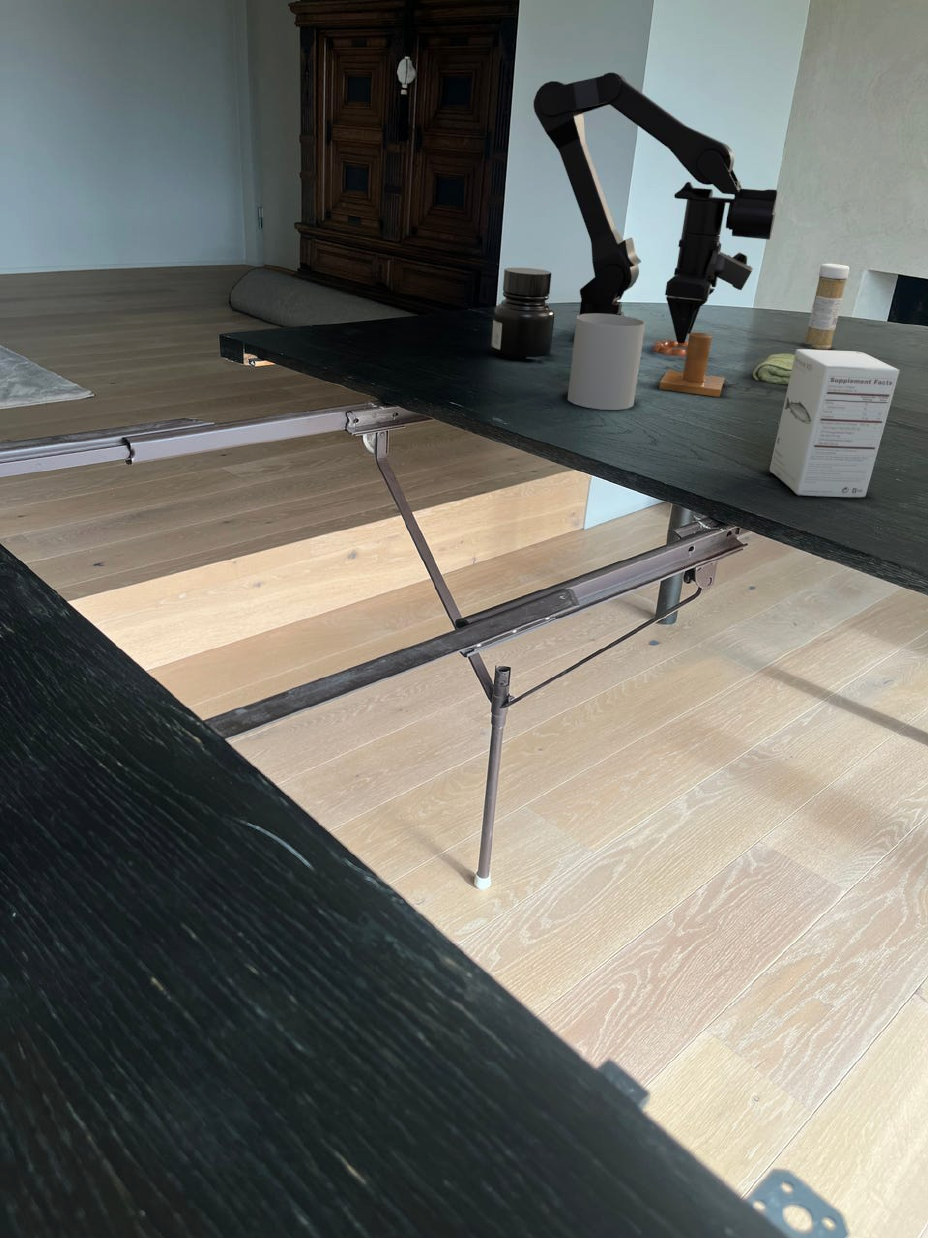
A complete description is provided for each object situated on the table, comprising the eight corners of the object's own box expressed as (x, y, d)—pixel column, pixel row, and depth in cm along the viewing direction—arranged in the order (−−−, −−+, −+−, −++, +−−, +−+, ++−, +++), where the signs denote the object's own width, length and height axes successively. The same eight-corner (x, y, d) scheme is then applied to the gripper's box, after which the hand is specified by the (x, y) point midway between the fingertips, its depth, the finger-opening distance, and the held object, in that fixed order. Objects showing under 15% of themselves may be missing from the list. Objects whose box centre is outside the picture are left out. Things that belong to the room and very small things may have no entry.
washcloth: (881, 406, 128) (887, 382, 127) (748, 385, 134) (753, 361, 133) (888, 387, 139) (894, 365, 137) (765, 368, 145) (769, 347, 144)
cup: (638, 398, 123) (650, 318, 119) (627, 413, 116) (639, 329, 112) (575, 389, 126) (584, 310, 121) (560, 403, 119) (569, 320, 114)
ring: (647, 357, 148) (649, 346, 147) (655, 347, 155) (656, 337, 154) (705, 364, 146) (707, 353, 145) (710, 354, 153) (712, 343, 152)
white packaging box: (766, 471, 99) (793, 347, 93) (835, 474, 99) (866, 350, 94) (794, 496, 92) (825, 364, 86) (867, 498, 93) (903, 367, 87)
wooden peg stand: (659, 389, 129) (667, 335, 126) (666, 377, 136) (674, 326, 133) (719, 397, 127) (729, 343, 124) (723, 384, 134) (733, 333, 131)
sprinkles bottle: (812, 343, 167) (830, 262, 161) (836, 349, 164) (855, 266, 158) (797, 346, 164) (815, 263, 158) (821, 351, 161) (840, 267, 155)
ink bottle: (506, 346, 148) (513, 264, 143) (559, 354, 145) (568, 271, 140) (480, 356, 141) (486, 270, 135) (535, 365, 137) (543, 277, 132)
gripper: (752, 243, 135) (731, 354, 143) (758, 233, 151) (738, 334, 159) (673, 235, 138) (656, 345, 145) (687, 227, 154) (671, 326, 161)
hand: (683, 338), depth 153 cm, fingers open, 9 cm apart
